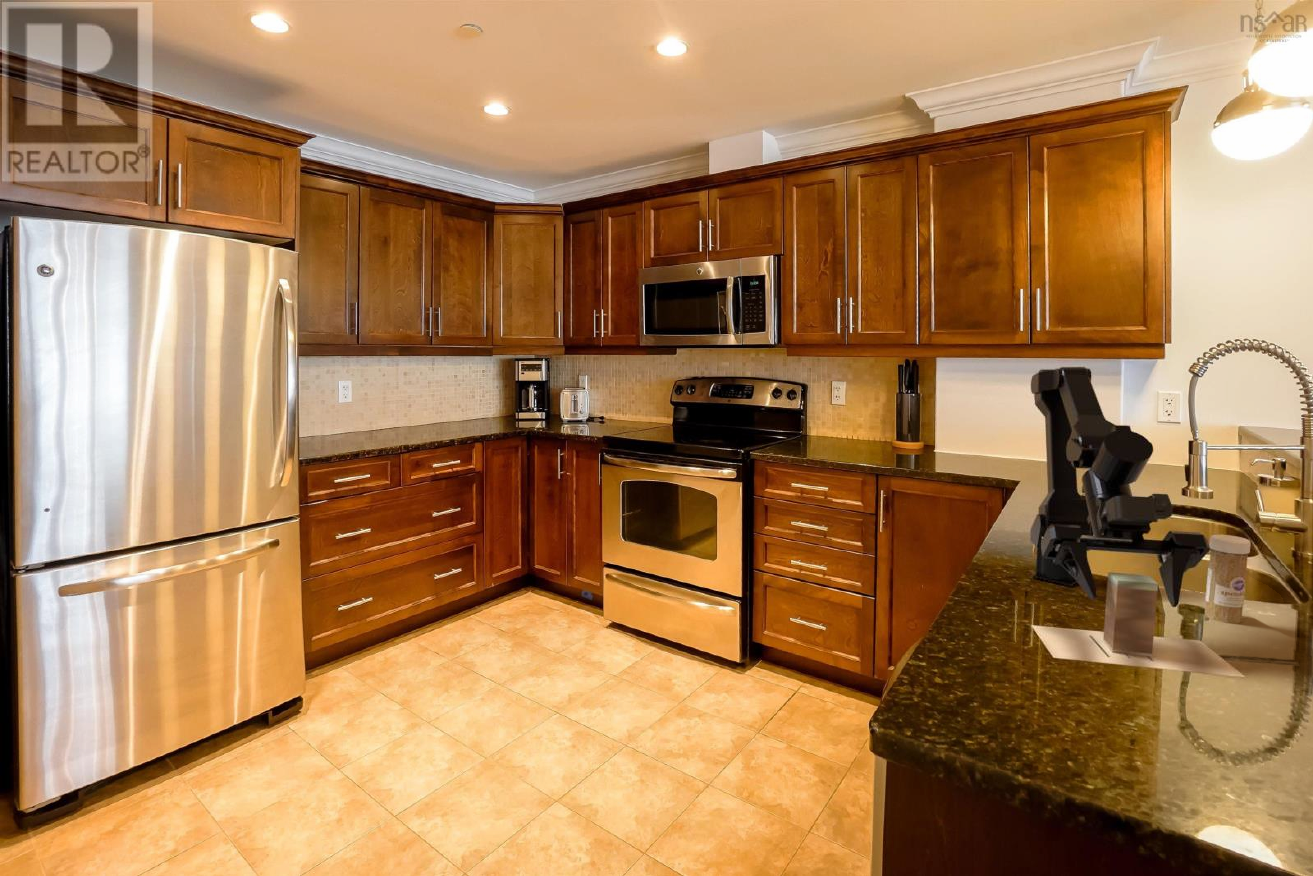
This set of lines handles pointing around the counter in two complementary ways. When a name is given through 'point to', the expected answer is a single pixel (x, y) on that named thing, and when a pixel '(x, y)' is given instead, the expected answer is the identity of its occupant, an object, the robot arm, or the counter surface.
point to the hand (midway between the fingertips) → (1134, 602)
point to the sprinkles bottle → (1226, 578)
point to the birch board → (1164, 655)
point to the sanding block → (1130, 614)
